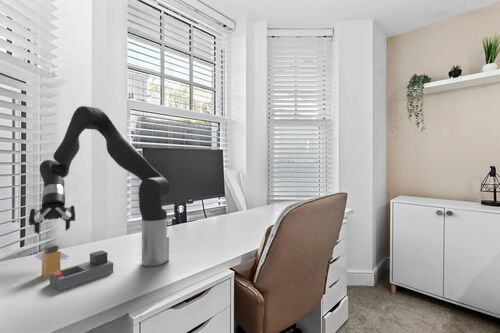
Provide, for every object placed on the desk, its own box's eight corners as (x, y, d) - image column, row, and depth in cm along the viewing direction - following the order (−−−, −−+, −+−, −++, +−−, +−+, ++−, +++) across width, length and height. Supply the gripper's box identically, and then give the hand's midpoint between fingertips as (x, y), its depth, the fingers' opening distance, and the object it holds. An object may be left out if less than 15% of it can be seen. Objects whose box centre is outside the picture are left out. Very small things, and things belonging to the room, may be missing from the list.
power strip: (101, 267, 94) (101, 248, 94) (113, 272, 89) (113, 252, 89) (49, 284, 81) (49, 262, 81) (59, 291, 76) (59, 268, 76)
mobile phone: (48, 262, 97) (34, 254, 105) (48, 264, 97) (34, 256, 105) (71, 256, 103) (56, 249, 112) (71, 258, 103) (56, 251, 112)
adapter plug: (55, 271, 90) (55, 243, 90) (60, 274, 88) (60, 245, 88) (41, 275, 87) (41, 246, 87) (46, 278, 85) (46, 248, 85)
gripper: (30, 193, 98) (26, 228, 89) (74, 190, 107) (75, 222, 97) (32, 204, 102) (28, 239, 93) (74, 201, 111) (75, 233, 102)
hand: (52, 231), depth 95 cm, fingers open, 8 cm apart
